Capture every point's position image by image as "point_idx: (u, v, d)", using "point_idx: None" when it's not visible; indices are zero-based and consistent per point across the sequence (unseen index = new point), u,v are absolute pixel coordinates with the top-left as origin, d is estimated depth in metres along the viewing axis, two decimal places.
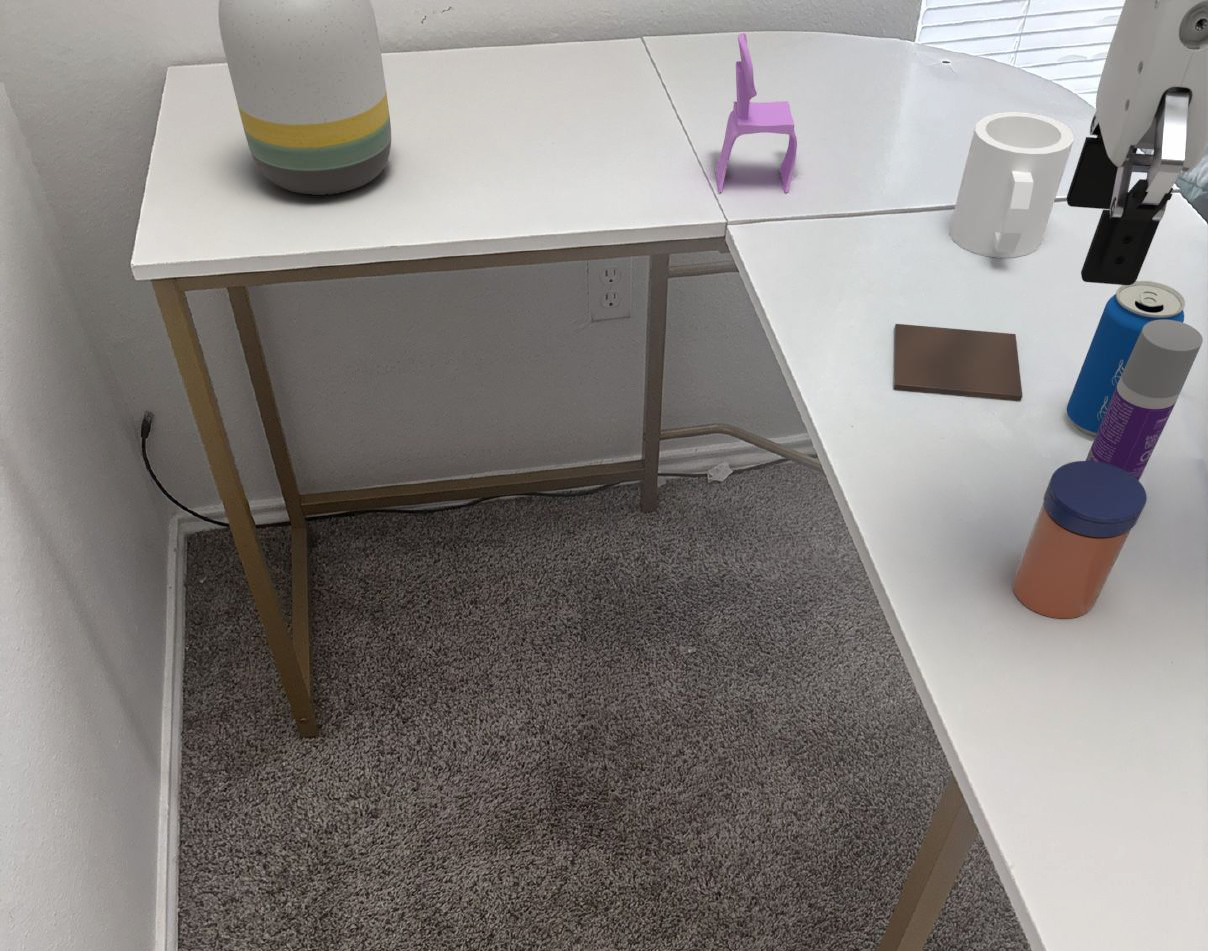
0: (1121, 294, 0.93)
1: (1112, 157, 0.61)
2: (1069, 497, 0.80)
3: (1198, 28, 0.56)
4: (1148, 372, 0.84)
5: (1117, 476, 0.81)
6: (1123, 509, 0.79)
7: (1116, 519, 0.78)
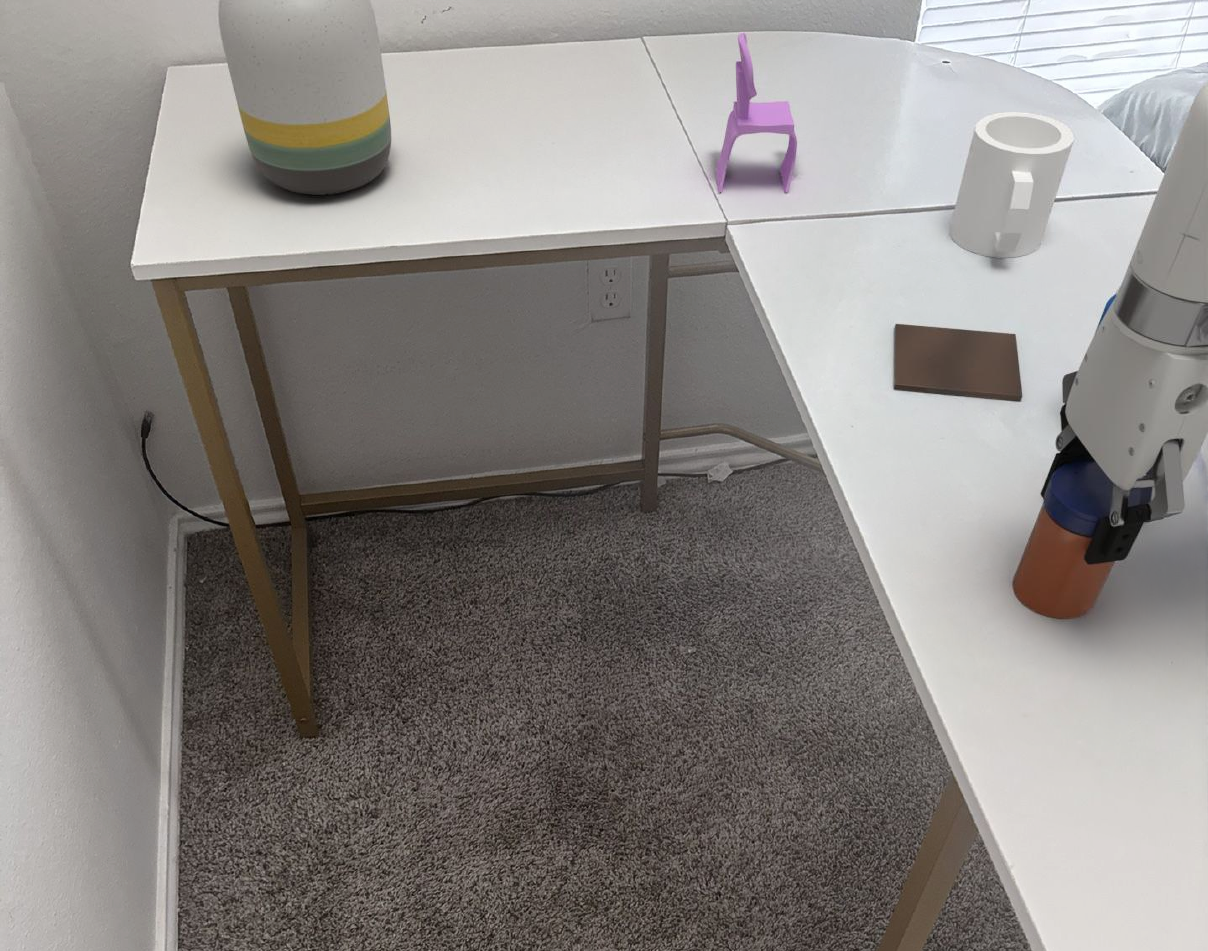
0: None
1: (1119, 484, 0.74)
2: (1069, 497, 0.80)
3: (1187, 400, 0.69)
4: None
5: None
6: None
7: None
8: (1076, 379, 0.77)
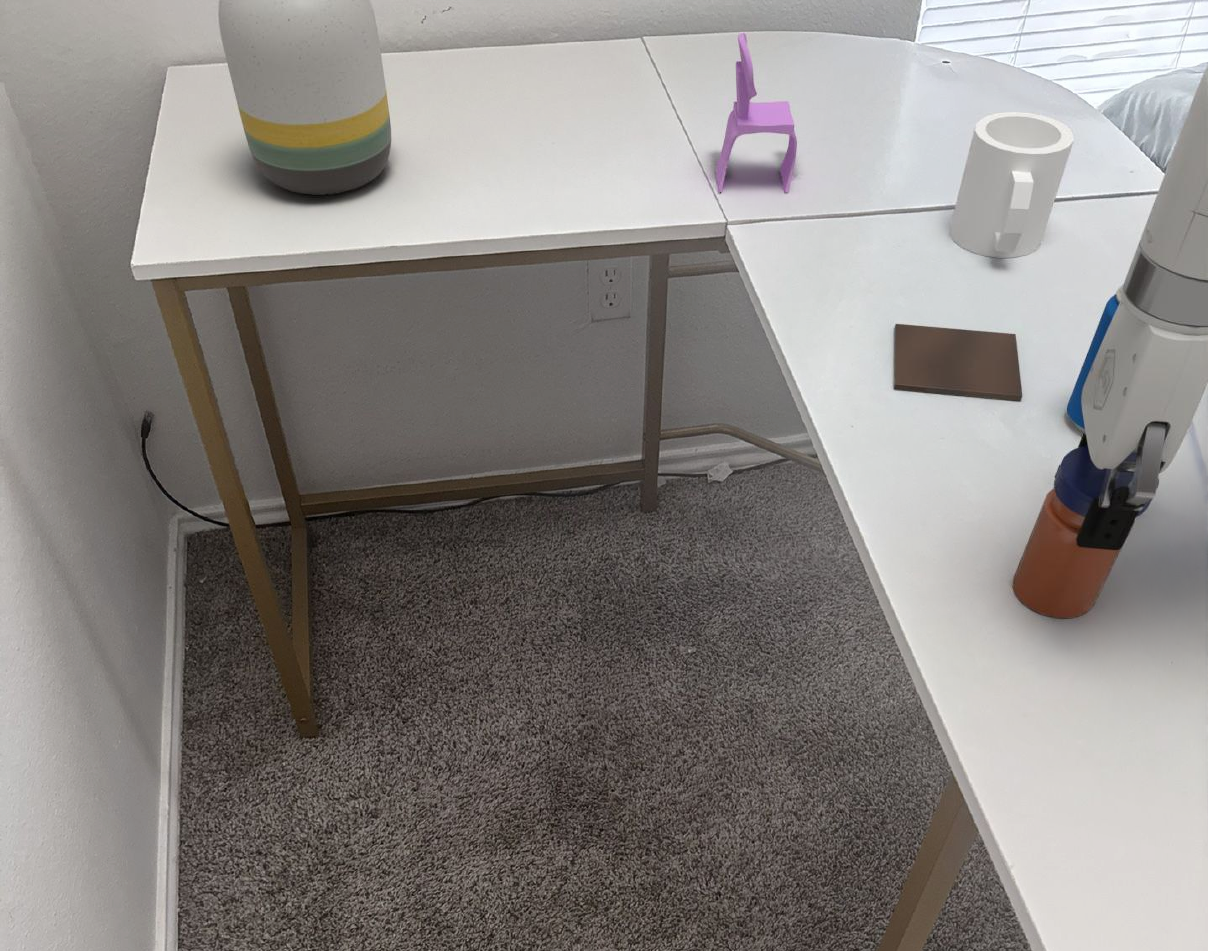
0: None
1: None
2: None
3: None
4: None
5: (1081, 480, 0.79)
6: None
7: None
8: None
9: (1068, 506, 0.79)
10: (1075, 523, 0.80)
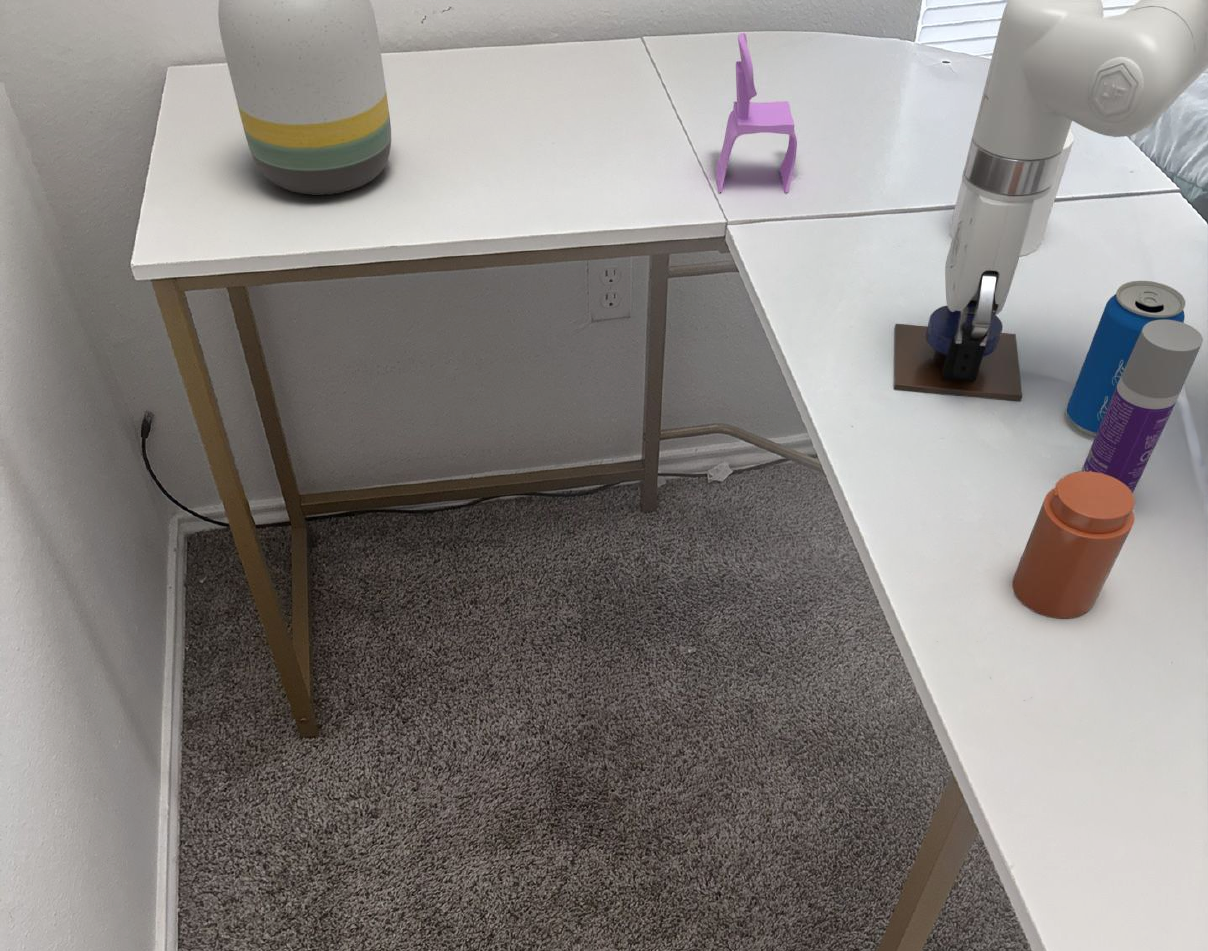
0: (1121, 294, 0.93)
1: None
2: (992, 321, 1.04)
3: None
4: (1148, 372, 0.84)
5: (944, 327, 1.04)
6: None
7: None
8: (1010, 283, 0.96)
9: (934, 348, 1.04)
10: (1075, 524, 0.80)
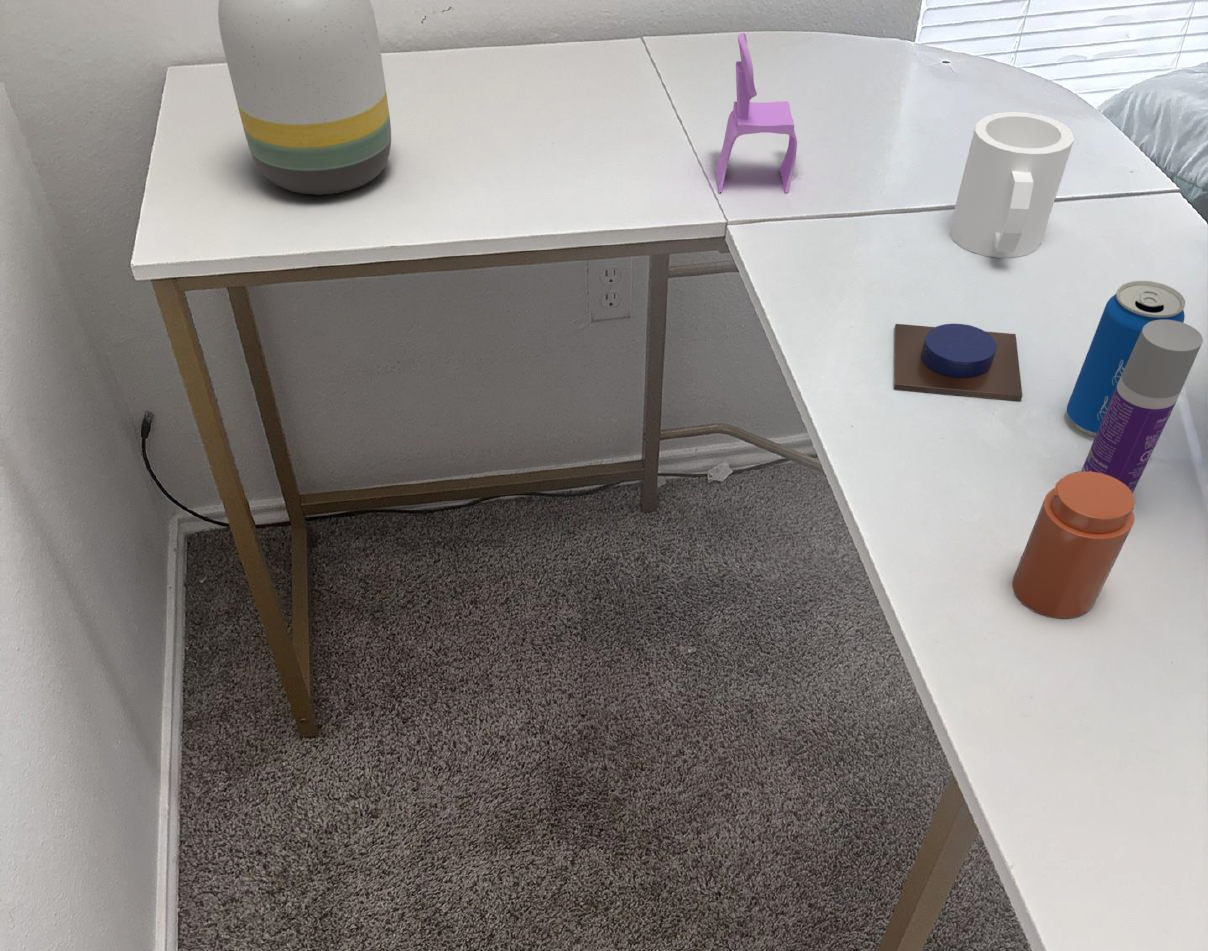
0: (1121, 294, 0.93)
1: None
2: (987, 341, 1.06)
3: None
4: (1148, 372, 0.84)
5: (939, 346, 1.05)
6: (952, 327, 1.07)
7: (962, 324, 1.08)
8: None
9: (930, 366, 1.06)
10: (1075, 524, 0.80)
